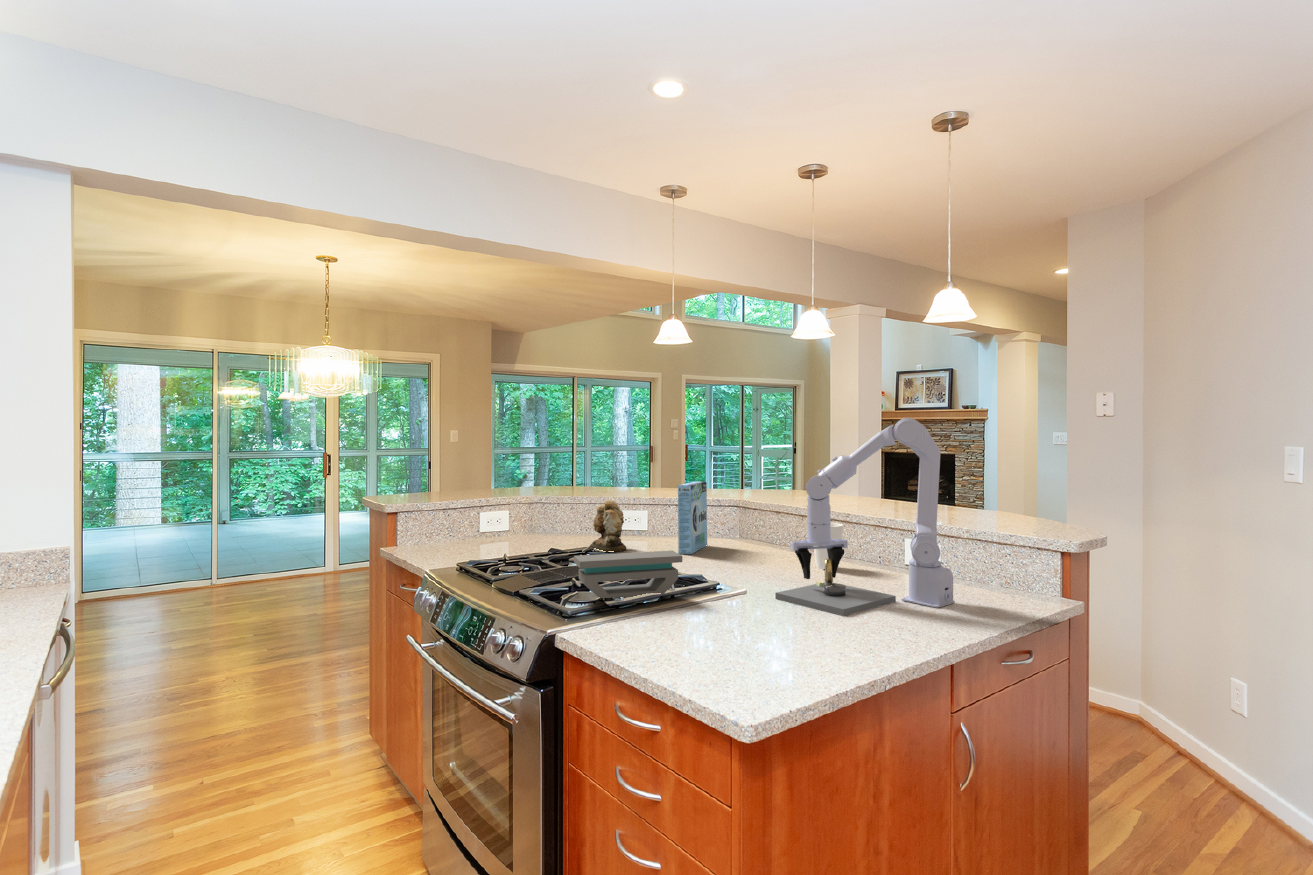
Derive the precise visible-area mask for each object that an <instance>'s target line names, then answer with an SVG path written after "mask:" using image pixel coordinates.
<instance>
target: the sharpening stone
mask: <svg viewBox="0 0 1313 875" xmlns="http://www.w3.org/2000/svg"><path fill="white" fill-rule="evenodd" d="M573 563H574V564H575V565H576V566H577V567H578V568H579V569H578V579H579V581H580V582H582V584H583V585H584V586H585V587H586V588H587V589H589V591H590V592H592V593H593V594H594V595H595V596H596V597H597V598H599V597H600V598H611V597H633V596H637V595H642V594H646V593H661V594H663V595H665V594H666V592H667V591H668V590H669V589H670V588H671V587H672V586H673V585H674V584H675V583H676V582H677V580H678V579H679V569H677V568H676V567H674V566H673V564H674V563H675V564H676V563H683V554H679V553H678V552H676V551H674V550H659V551H658V550H657V551H640V552H619V553H600V554H584V555H573ZM647 579H648V580H649V579H650V580H649V581H648V582H647V583H644V584H643V583H642V584H629V585H617V586H616V585H613V586H601V585H600V584H599V583H601V582H602V583H603V582H616V581H617V582H618V581H632V580H633V581H634V580H647ZM600 598H599V599H600Z"/></svg>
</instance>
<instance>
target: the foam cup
mask: <svg viewBox="0 0 1313 875" xmlns="http://www.w3.org/2000/svg"><path fill="white" fill-rule="evenodd" d="M830 524H831V539H843V534H844V524H843V523H838V522H831V523H830ZM814 547H817V546H814ZM813 552H814V553H813V554H814V561H815V566H816V567H817V568H819V569H818V570H820V569H825V559H828V552H827V548H825V549H813ZM816 567H815V568H816ZM817 568H816V569H817Z"/></svg>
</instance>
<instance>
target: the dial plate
mask: <svg viewBox="0 0 1313 875" xmlns="http://www.w3.org/2000/svg"><path fill="white" fill-rule="evenodd" d="M832 583H834V581H833V582H832ZM825 584H826V582H825V581H824V582H823V581H821V580H816V581H815V584H810V585H805V586H801V587H796V588H791V589H786V590H781V591H777V592H775V593H774V594H775V600H779V601H782V602H786V603H790V604H794V605H798V606H802V607H806V608H810V609H814V610H818V611H822V612H825V613H830V614H833V615H837V616H842V617H844V616H848V615H852V614H856V613H861V612H864V611H867V610H871V609H874V608H879V607H882V606H887V605H889V604H893V603H896V602H897V601H896V600H897V598H896V597H897V596H896V595H893V594H889V593H884V592H879V591H875V590H869V589H865V588H860V587H856V586H851V585H845V584H844V585H845V586H846V595H844V596H829V595H826V594H824V585H825Z"/></svg>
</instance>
